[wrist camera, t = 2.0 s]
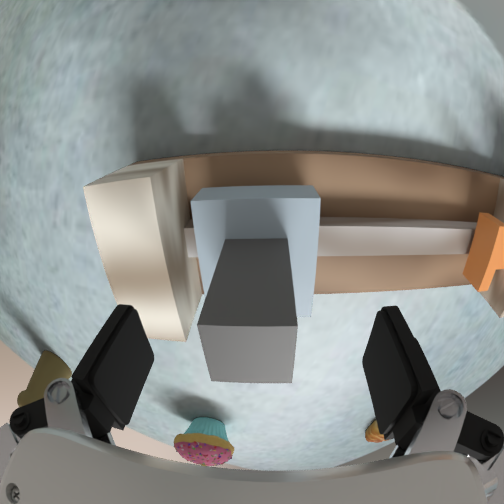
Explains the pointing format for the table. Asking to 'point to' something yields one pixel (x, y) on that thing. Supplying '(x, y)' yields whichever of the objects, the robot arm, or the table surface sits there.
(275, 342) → the carriage
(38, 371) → the cork
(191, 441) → the cupcake
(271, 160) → the rail bench
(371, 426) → the pastry
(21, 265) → the table surface
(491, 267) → the button
